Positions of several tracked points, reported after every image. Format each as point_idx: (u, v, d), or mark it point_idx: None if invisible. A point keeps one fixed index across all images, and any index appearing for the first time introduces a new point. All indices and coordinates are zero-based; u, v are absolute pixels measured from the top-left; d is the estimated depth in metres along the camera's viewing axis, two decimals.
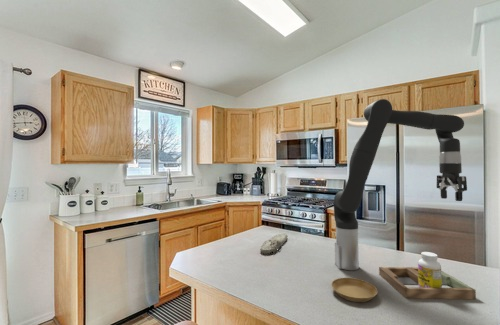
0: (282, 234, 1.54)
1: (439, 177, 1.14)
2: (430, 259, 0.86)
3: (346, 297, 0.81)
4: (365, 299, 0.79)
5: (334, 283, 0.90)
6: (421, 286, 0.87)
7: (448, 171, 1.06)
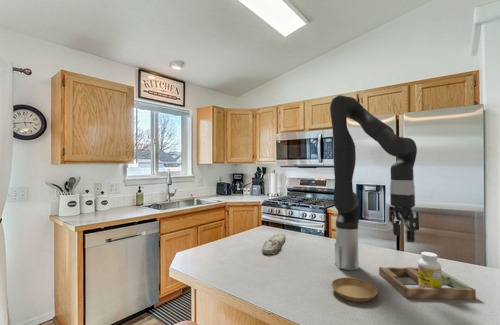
0: (280, 234, 1.54)
1: (392, 209, 0.95)
2: (430, 259, 0.86)
3: (346, 297, 0.81)
4: (365, 299, 0.79)
5: (334, 283, 0.90)
6: (421, 286, 0.87)
7: (399, 204, 0.87)
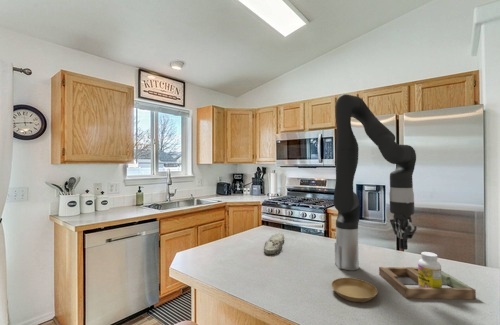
0: (278, 234, 1.54)
1: (392, 221, 0.94)
2: (430, 259, 0.86)
3: (346, 297, 0.81)
4: (365, 299, 0.79)
5: (334, 283, 0.90)
6: (421, 286, 0.87)
7: (398, 212, 0.87)
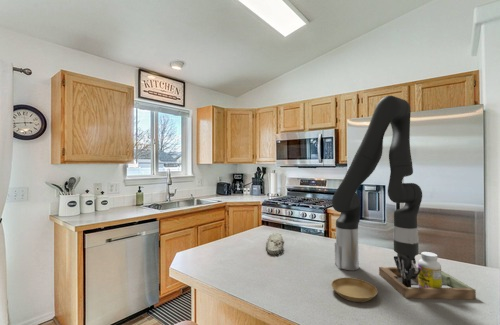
0: (276, 233, 1.55)
1: (396, 258, 0.93)
2: (430, 259, 0.86)
3: (346, 297, 0.81)
4: (365, 299, 0.79)
5: (334, 283, 0.90)
6: (421, 286, 0.87)
7: (402, 252, 0.86)
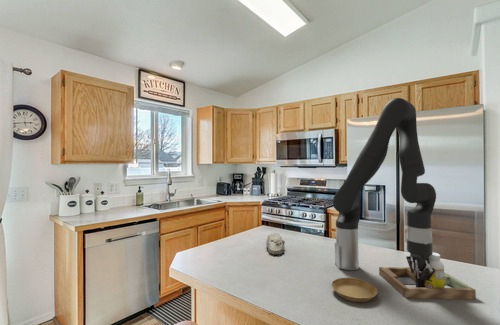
0: (274, 233, 1.55)
1: (409, 258, 0.93)
2: (433, 259, 0.86)
3: (346, 297, 0.81)
4: (365, 299, 0.79)
5: (334, 283, 0.90)
6: None
7: (416, 252, 0.86)
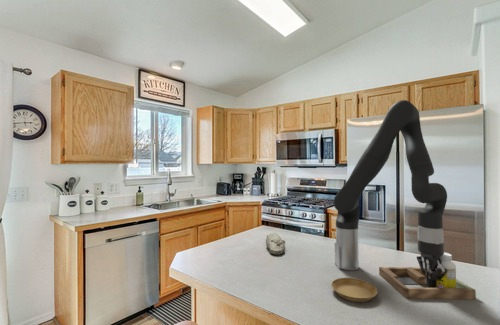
0: (273, 234, 1.55)
1: (419, 258, 0.93)
2: (444, 259, 0.86)
3: (346, 297, 0.81)
4: (365, 299, 0.79)
5: (334, 283, 0.90)
6: None
7: (427, 252, 0.86)
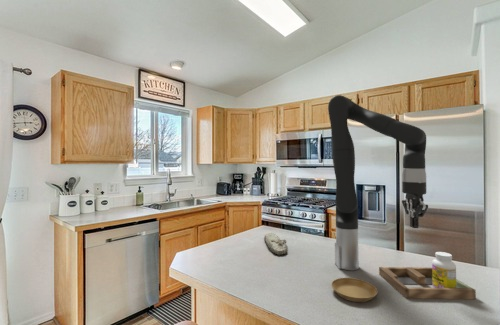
0: (270, 234, 1.55)
1: (404, 201, 0.97)
2: (444, 259, 0.86)
3: (346, 297, 0.81)
4: (365, 299, 0.79)
5: (334, 283, 0.90)
6: (435, 286, 0.88)
7: (410, 191, 0.90)
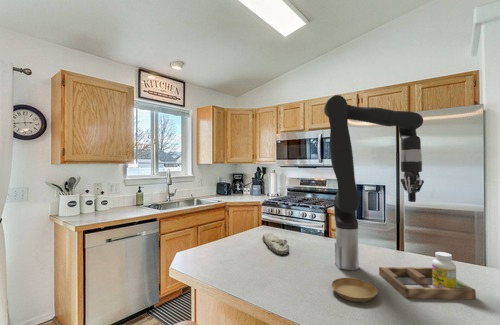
0: (268, 234, 1.55)
1: (403, 180, 1.10)
2: (444, 259, 0.86)
3: (346, 297, 0.81)
4: (365, 299, 0.79)
5: (334, 283, 0.90)
6: (435, 286, 0.88)
7: (408, 169, 1.03)
